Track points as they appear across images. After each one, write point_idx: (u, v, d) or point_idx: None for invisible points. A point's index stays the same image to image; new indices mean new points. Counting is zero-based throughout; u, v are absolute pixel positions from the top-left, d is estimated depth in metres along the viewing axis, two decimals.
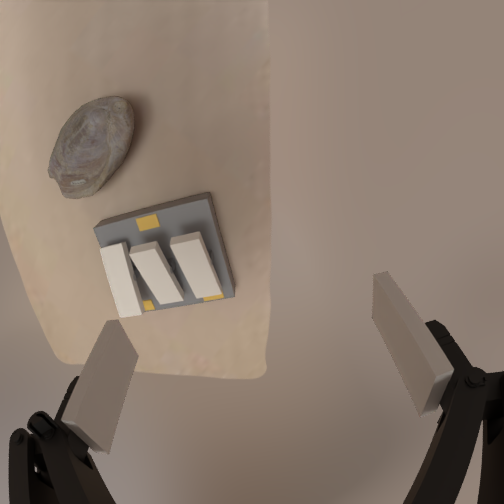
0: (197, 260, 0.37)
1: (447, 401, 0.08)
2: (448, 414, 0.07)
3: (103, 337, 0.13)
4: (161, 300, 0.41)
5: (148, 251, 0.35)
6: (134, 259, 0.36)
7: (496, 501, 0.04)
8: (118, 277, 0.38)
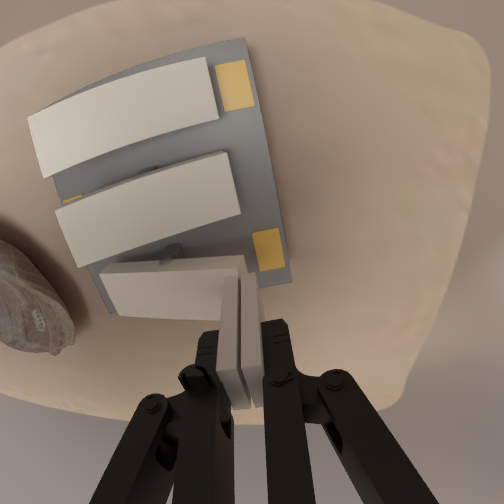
0: (82, 114, 0.13)
1: None
2: (265, 418, 0.09)
3: (229, 291, 0.15)
4: (224, 208, 0.17)
5: (63, 224, 0.14)
6: (89, 258, 0.16)
7: None
8: (158, 297, 0.18)
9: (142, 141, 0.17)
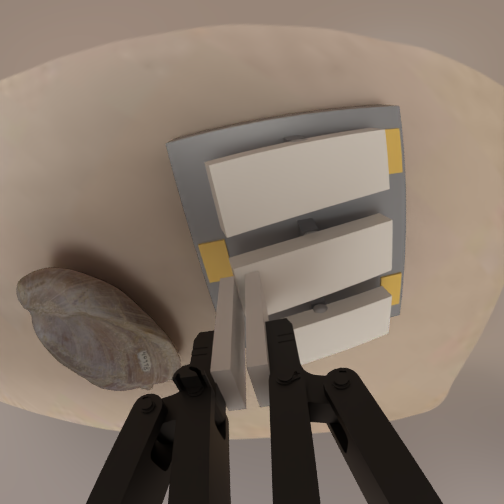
0: (278, 173, 0.14)
1: None
2: (271, 417, 0.08)
3: (224, 291, 0.15)
4: (382, 266, 0.18)
5: (240, 282, 0.16)
6: None
7: None
8: (319, 342, 0.20)
9: None
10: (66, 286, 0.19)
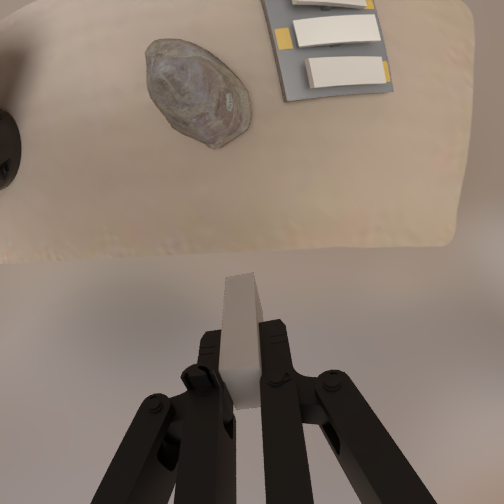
0: None
1: None
2: (262, 418, 0.09)
3: (231, 290, 0.15)
4: (373, 36, 0.27)
5: (296, 26, 0.28)
6: (306, 43, 0.29)
7: None
8: (345, 70, 0.30)
9: (325, 11, 0.29)
10: (189, 43, 0.29)
